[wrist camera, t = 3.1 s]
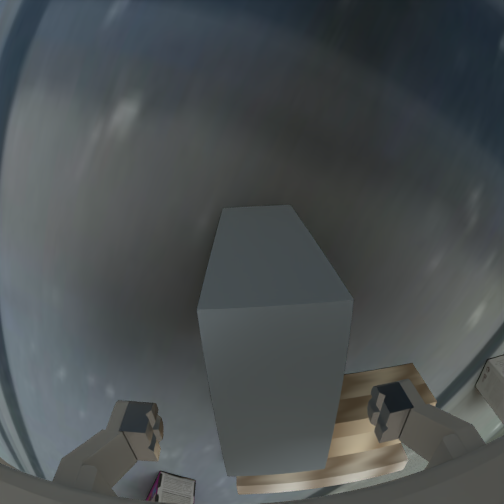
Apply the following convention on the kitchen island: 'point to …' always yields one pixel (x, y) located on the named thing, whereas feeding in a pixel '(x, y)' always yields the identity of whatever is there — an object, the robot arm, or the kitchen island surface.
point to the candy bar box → (172, 489)
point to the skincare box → (493, 385)
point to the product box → (273, 341)
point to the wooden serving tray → (349, 439)
